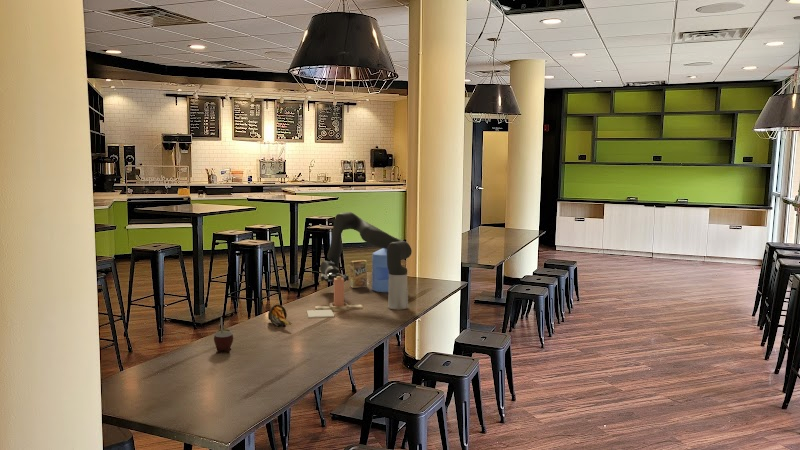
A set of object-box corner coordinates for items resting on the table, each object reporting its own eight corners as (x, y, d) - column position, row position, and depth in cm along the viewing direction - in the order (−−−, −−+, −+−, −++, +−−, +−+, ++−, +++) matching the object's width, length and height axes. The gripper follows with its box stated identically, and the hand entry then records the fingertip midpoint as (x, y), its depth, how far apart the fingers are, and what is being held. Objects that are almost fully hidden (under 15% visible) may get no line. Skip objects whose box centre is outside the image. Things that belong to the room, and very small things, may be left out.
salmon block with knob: (342, 307, 313) (342, 275, 311) (343, 309, 308) (344, 277, 307) (333, 307, 312) (333, 275, 310) (334, 309, 308) (334, 277, 306)
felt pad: (331, 310, 305) (331, 309, 305) (334, 316, 294) (334, 315, 294) (306, 311, 303) (306, 310, 303) (308, 318, 291) (308, 316, 291)
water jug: (367, 288, 358) (368, 239, 355) (392, 286, 365) (393, 238, 362) (378, 293, 344) (378, 243, 341) (404, 291, 351) (404, 241, 348)
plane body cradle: (360, 305, 317) (360, 301, 317) (363, 309, 308) (363, 305, 308) (314, 307, 312) (314, 303, 312) (316, 311, 303) (316, 307, 303)
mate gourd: (226, 347, 246) (225, 309, 244) (238, 351, 241) (237, 313, 239) (209, 351, 240) (208, 313, 238) (221, 356, 235) (221, 317, 233)
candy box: (353, 288, 357) (353, 261, 356) (350, 286, 361) (350, 260, 359) (367, 287, 362) (367, 260, 360) (364, 285, 365) (364, 259, 364)
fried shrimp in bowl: (280, 308, 289) (304, 302, 277) (277, 332, 285) (301, 327, 273) (263, 304, 283) (287, 297, 271) (260, 328, 279) (283, 322, 267)
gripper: (319, 267, 334) (322, 273, 318) (346, 266, 337) (350, 272, 321) (319, 280, 335) (321, 287, 319) (345, 280, 338) (349, 287, 322)
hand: (336, 280), depth 320 cm, fingers open, 8 cm apart
